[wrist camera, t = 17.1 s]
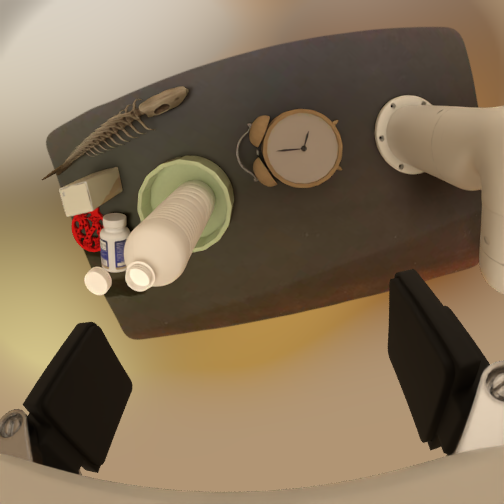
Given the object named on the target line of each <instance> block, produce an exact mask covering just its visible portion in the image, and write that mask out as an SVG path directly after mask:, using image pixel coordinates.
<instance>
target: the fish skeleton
mask: <svg viewBox="0 0 504 504" xmlns="http://www.w3.org/2000/svg"><path fill="white" fill-rule="evenodd" d="M187 93H188V89H187V88H185V87H182V86H181V87H176V88H172V89H168V90H165V91H163V92H161V93H160V94H158V95H155V96H153V97H151V98H149V99H148V100H146V101H145V102H143V103H141V104H140V105H139V109H136V105H135V102H136V101H137V100H142V99H136V100H135V101H134V102H133V110H131V111H130V112H127V108H128V106H131V105H127V107H126V108H125V110H121V111H125V113H124V114H120V113H121V111H120V112H119V114H118V115H115V116H113V117H112V118H110V119H112V120H110V119H108V120H109V121H107V122H106V123H104V124H102V125H103V126H102V127H100V128H98V129H96V130H97V131H96V132H94V133H92V134H93V135H92V134H90V135H92V136H90V137H88V138H89V139H88V138H86V139H88V140H86V141H84V142H85V143H83V142H82V143H83V144H81V145H79V146H81V147H79V146H77V147H79V148H77V149H78V150H76V149H75V150H76V151H77V152H76V151H74V150H73V151H74V152H75V153H73V152H72V153H73V155H72V154H71V157H70V156H69V159H68V158H67V160H66V162H64V163H63V164H64V165H63V166H62V165H61V166H59V167H58V168H56V169H55V170H54V171H52V172H51V173H49V174H48V175H47V176H46V177H44V178H43V179H42V180H44V179H46V178H48V177H50V176H51V175H53V174H55V173H56V172H57V173H56V175H60V174H61V173H62V172H63V171H65V170H66V169H67V168H68V167H69V166H70V165H71V164H72V163H71V162H73V161H75V159H76V158H79V157H80V156H81V155H84V153H86V154H87V155H89V154H88V153H87V150H89V151H91V152H92V153H93V154H95V153H94V152H93V151H92V150H91V148H94V149H95V150H96V151H98V152H100V151H99V150H98V149H97V148H96V147H95V145H99V146H100V147H101V148H102V149H104V150H107V149H105V148H104V147H103V146H102V145H101V144H100V142H101V141H104V142H105V143H106V144H107V145H108V146H109V147H111V148H116V147H112V146H110V145H109V144H108V143H107V142H106V140H105V139H106V138H109V139H111V140H112V141H113V142H114V143H115V144H117V145H123V144H119V143H117V142H115V141H114V139H113V138H112V137H111V135H112V134H116V135H117V136H118V137H119V138H120V139H121V140H123V141H125V142H129V141H126V140H124V139H123V138H121V136H120V135H119V134H118V130H122V131H123V132H124V133H125V134H126V135H128V136H129V137H130V138H138V137H132V136H131V135H130V134H128V132H127V131H126V130H125V128H124V127H125V125H129V126H130V127H131V128H132V129H133V130H134V131H136V132H137V133H139V134H147V133H141V132H139V131H138V130H137V129H136V128H135V127H134V126H133V124H132V122H133V120H138V121H139V122H140V123H141V125H142V126H143V127H145V128H146V129H147V130H155V129H150V128H148V127H147V126H146V125H145V124H144V123H143V122H142V120H141V114H146V115H147V117H148V118H149V117H152V116H154V115H159V114H161V113H164V112H166V111H168V110H169V109H172V108H174V107H177V106H178V105H179V104H180V103H181V102H182V101H183V100H184V98H185V97H186V95H187ZM120 117H121V118H120ZM114 118H118V119H114ZM110 123H111V124H110ZM107 124H108V125H107ZM104 125H105V126H104ZM100 126H101V125H100ZM104 128H105V129H104ZM98 130H99V131H98ZM94 131H95V130H94ZM97 133H98V134H97ZM94 134H95V135H94ZM84 140H85V139H84ZM111 150H112V149H111ZM100 153H105V152H100ZM95 155H100V154H95ZM89 156H91V155H89ZM91 157H94V156H91ZM69 163H70V164H69ZM62 167H63V168H62Z"/></svg>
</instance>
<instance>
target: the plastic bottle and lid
mask: <svg viewBox="0 0 504 504" xmlns="http://www.w3.org/2000/svg"><path fill="white" fill-rule="evenodd" d="M215 203H216V199H215V195H214V193H213V190H212V189H211V188H210V187H209V186H208V185H207V184H206V183H204V182H202V181H199V180H190V181H186V182H184V183H183V184H181V185H180V186H179V187H178V188H177V189H176V190H175V191H174V192H173V193H171V194H170V195H169V196H168V197H167V198H166V199H165V200H164V201H163V202H162V203H161V204H160V205H158V206H157V207H156V209H155V210H154V211H153V212H152V213H151V214H149V215H148V216H147V217H146V218H145V219H144V220H143V221H142V222H141V223H140V224H139V225H138V226H137V227H136V228H135V229H134V230H133V231H132V232H131V233H130V234H129V236H128V238H127V240H126V243H125V246H124V260H125V264H126V266H127V269H126V276H125V279H126V282H127V284H128V286H129V287H130V288H131V289H133V290H135V291H145V290H146V289H148V288H150V287H151V286H163V285H167V284H169V283H172V282H173V281H174V280H176V279H177V278H178V277H179V276H180V275H181V274H182V272H183V271H184V269H185V267H186V265H187V262H188V260H189V258H190V256H191V254H192V252H193V250H194V248H195V246H196V244H197V241H198V240H199V238H200V236H201V234H202V232H203V230H204V228H205V226H206V224H207V222H208V220H209V218H210V216H211V214H212V212H213V210H214V208H215ZM107 275H108V276H107ZM111 283H112V281H111V277H110V275H109V273H108V272H107V271H106V270H105V269H103V268H101V267H93V268H92V269H90V270H89V272H88V273H87V274H86V275H85V285H86V287H87V288H88V290H90V291H91V292H92V293H94V294H96V295H103V294H105V293H106V292H107V291H108V289H109V288H110V287H111Z"/></svg>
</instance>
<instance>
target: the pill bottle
mask: <svg viewBox="0 0 504 504" xmlns="http://www.w3.org/2000/svg"><path fill="white" fill-rule="evenodd" d="M126 221H127V220H126V215H124V214H121V213H110V214H106V215H104V216H103V226H104V228H103V229H102V230H101V231H100V248H101V262H102V267H103V268H104V269H105V270H106V271H109V272H122V271H125V270H126V269H127V266H126V264H125V260H124V246H125V243H126V240H127V238H128V236H129V234H130V230H129V229H128V228H127V227H126V225H127V224H126V223H127V222H126Z"/></svg>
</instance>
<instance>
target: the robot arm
mask: <svg viewBox="0 0 504 504" xmlns="http://www.w3.org/2000/svg"><path fill="white" fill-rule="evenodd" d="M422 104H423V105H422ZM391 105H392V108H391ZM379 137H381V139H379ZM375 141H376V144H377V148H378V150H379V152H380V154H381V156H382V157H383V159H384V160H385V161H386V162H387V163H388V164H389V165H390V166H391V167H393V168H394V169H396V170H398V171H400V172H403V173H406V174H420V173H423V172H426V173H428V174H430V175H433V176H435V177H437V178H439V179H441V180H443V181H445V182H447V183H449V184H451V185H454V186H456V187H458V188H461V189H464V190H470V191H475V190H481V189H482V194H481V201H482V216H481V234H480V249H479V265H480V270H481V274H482V276H483V278H484V279H485V281H486V282H487V283H488V284H489V285H490V286H491V287H492V288H493V289H495V290H497V291H498V292H500V293H502V294H504V106H499V107H490V108H473V107H455V106H433V105H432V104H430V103H429V102H428V101H426V100H424V99H422V98H420V97H417V96H411V95H405V96H399V97H396V98H394V99H392V100H390V101H389V102H388V103H386V104H385V105H384V106H383V108H382V109H381V110H380V112H379V114H378V116H377V119H376V123H375ZM399 165H401V166H400V167H399ZM389 294H390V295H389V301H390V302H389V333H388V354H389V358H390V360H391V363H392V365H393V368H394V370H395V372H396V375H397V377H398V380H399V382H400V385H401V388H402V390H403V393H404V395H405V398H406V400H407V403H408V406H409V409H410V411H411V414H412V417H413V419H414V422H415V425H416V428H417V430H418V433H419V436H420V439H421V441H422V442H423V443H424V442H428V445H429V447H430V450H433V449H436V448H438V447H442V449H443V452H444V453H446V454H447V455H446V456H445V457H442V458H439V459H435V460H432V461H428V462H425V463H421V464H417V465H413V466H410V467H406V468H403V469H399V470H395V471H391V472H387V473H383V474H378V475H374V476H370V477H365V478H360V479H355V480H349V481H343V482H338V483H332V484H326V485H319V486H313V487H304V488H295V489H285V490H272V491H254V492H200V491H182V490H169V489H159V488H150V487H142V486H135V485H128V484H122V483H116V482H111V481H105V480H100V479H95V478H91V477H86V476H82V474H81V471H80V467H81V466H82V467H83V468H84V469H85V470H87V471H92V472H97V473H98V471H99V468H100V466H101V465H102V464H103V463H104V461H105V459H106V456H107V453H108V450H109V448H110V445H111V442H112V440H113V437H114V434H115V432H116V429H117V427H118V424H119V422H120V419H121V417H122V414H123V411H124V409H125V406H126V404H127V401H128V399H129V396H130V394H131V392H132V382H131V380H130V378H129V377H128V375H127V373H126V372H125V370H124V368H123V367H122V365H121V363H120V362H119V360H118V358H117V357H116V355H115V353H114V351H113V349H112V348H111V346H110V344H109V342H108V341H107V339H106V337H105V335H104V333H103V331H102V329H101V328H100V327H99V326H97V325H96V324H95V323H93V322H86V323H79V324H77V325H76V327H75V328H74V330H73V331H72V332H71V334H70V335H69V336H68V338H67V339H66V341H65V342H64V343H63V345H62V346H61V348H60V349H59V351H58V352H57V353H56V355H55V356H54V358H53V359H52V361H51V362H50V364H49V365H48V366H47V368H46V369H45V371H44V372H43V374H42V376H41V377H40V379H39V380H38V381H37V383H36V384H35V386H34V388H33V389H32V391H31V392H30V394H29V395H28V397H27V399H26V400H25V402H24V403H23V405H24V407H25V408H26V409H27V410H28V411H29V415H28V416H27V415H26V414H25V413H24V412H23V411H22V410H19V409H14V410H11V411H9V412H8V413H6V414H5V415H4V416H3V417H2V418H1V419H0V504H504V361H499V362H495V363H493V364H491V365H490V364H489V362H488V361H487V360H486V358H485V356H484V355H483V354H482V352H481V351H480V349H479V348H478V346H477V345H476V343H475V342H474V340H473V339H472V338H471V336H470V335H469V333H468V332H467V331H466V329H465V328H464V327H463V325H462V324H461V322H460V321H459V320H458V319H457V317H456V316H455V314H454V313H453V312H452V311H451V309H450V308H449V307H447V306H443V305H442V303H441V302H440V301H439V299H438V298H437V297H436V296H435V294H434V293H433V292H432V290H431V289H430V288H429V287H428V285H427V284H426V283H425V282H424V280H423V279H422V278H421V277H420V275H419V274H418V273H417V272H416V271H415V270H414V269H412V270H407V271H403V272H398V273H396V274H395V278H394V279H391V280H390V293H389Z"/></svg>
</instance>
